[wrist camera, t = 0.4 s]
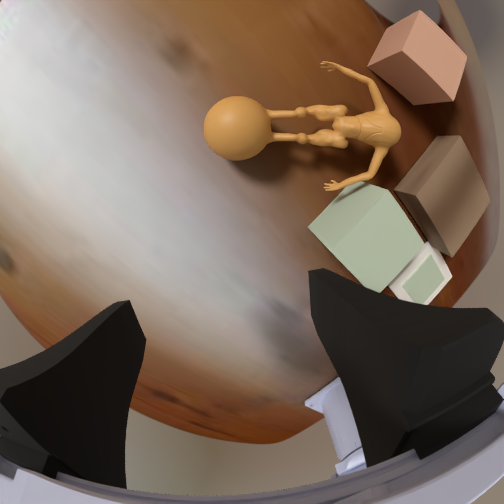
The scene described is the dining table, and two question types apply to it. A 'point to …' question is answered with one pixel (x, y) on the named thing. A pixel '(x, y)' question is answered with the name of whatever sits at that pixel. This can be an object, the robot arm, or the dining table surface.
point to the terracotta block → (419, 60)
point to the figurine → (259, 133)
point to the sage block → (368, 234)
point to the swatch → (421, 277)
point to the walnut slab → (444, 193)
